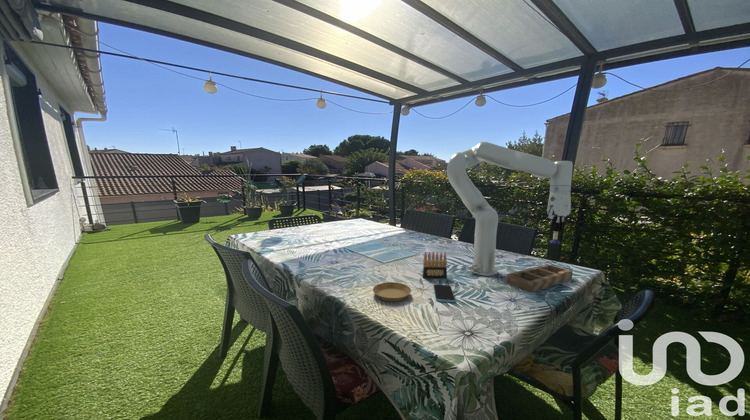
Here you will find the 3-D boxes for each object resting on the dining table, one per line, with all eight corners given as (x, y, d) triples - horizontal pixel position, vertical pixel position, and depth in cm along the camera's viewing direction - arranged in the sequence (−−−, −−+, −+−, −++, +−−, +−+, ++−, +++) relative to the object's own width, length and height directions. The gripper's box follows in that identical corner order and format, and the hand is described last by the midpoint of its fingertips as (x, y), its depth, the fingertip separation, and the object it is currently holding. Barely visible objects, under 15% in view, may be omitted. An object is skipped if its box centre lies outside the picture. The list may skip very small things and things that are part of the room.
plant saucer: (367, 291, 109) (367, 285, 108) (399, 285, 114) (399, 279, 114) (382, 307, 95) (382, 300, 95) (418, 300, 101) (418, 293, 101)
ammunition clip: (423, 278, 123) (423, 252, 121) (422, 276, 125) (423, 251, 123) (446, 278, 122) (447, 252, 121) (445, 276, 124) (446, 251, 123)
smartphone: (450, 285, 113) (456, 300, 99) (450, 287, 113) (455, 303, 99) (433, 284, 114) (435, 299, 100) (432, 286, 114) (435, 302, 100)
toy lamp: (554, 242, 124) (557, 206, 122) (564, 244, 120) (567, 207, 118) (546, 243, 123) (549, 206, 121) (556, 245, 118) (559, 207, 116)
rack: (531, 292, 107) (532, 281, 107) (506, 282, 117) (507, 273, 116) (571, 279, 121) (572, 270, 120) (546, 272, 130) (547, 263, 130)
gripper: (558, 190, 111) (555, 234, 114) (579, 189, 119) (575, 230, 121) (540, 189, 118) (537, 231, 120) (561, 188, 125) (557, 227, 127)
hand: (556, 230), depth 120 cm, fingers closed on toy lamp
